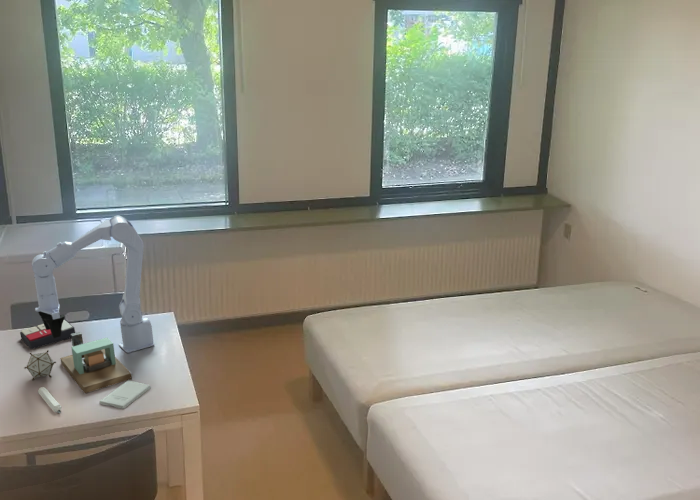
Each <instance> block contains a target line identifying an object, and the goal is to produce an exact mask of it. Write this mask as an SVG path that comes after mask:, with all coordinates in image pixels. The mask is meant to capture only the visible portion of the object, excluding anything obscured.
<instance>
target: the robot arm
mask: <svg viewBox="0 0 700 500" xmlns="http://www.w3.org/2000/svg"><path fill="white" fill-rule="evenodd" d="M133 225H134V224H132V222H131V221H129V220H128V219H127V218H126V217H124V216H121V215H114V216H112V217H111V218H109V219H106V220H104V221H102V222H101V223H100V224H98V225H97V226H94V227H93V228H92V229H90V230H88V231H87V232H85V233H84V234H82V235H81V236H79V237H77V238H76V239H74V240H73V241H62V242H61V241H59V242H57V243H56V246H54V247H52V248H51V249H49V250H47V251H46V250H44V251H42V254H41V253H39V254H37V255H36V256H34V257H33V259H32V260H31V270H32V271H33V277H34V285H35V290H36V297H37V303H38V307H35V308H34V311H35V312H37V314H38V315H39V317H40V318H41V321H42V324H44V326H45V328H46V330H49V329H50V330H51V333H52V336H53V338H56V337H60V336H61V329H62V323H63V320H64V319H65V317H66V316H65V315H64V314H61V315H60V308H61V305H60V302H59V297H58V290H57V285H56V278H55V276H54V273H53V272H54V270H55V269H57V268H59V267H61V266H62V265H64V264H66V263H67V262H69V261H71V260H73V259H74V258H76V257H77V253H78V252H79V251H81V250H84V249H85V248H86V247H89V246H90V245H93V244H94V243H96V242H98V241H101V240H104V241H112V239H114V241H116V242H119V243H121V244H123V245H124V246H125V247H126V248H127V250H126V251H127V253H126V265H125V267H126V268H125V276H124V278H125V279H124V291H123V294H122V299H121V301H120V303H119V305H118V312H119V313H120V315H121V319H120V321H119V324H120V332H121V341H122V342H120V343H118V346H119V347H120V348H121V349H122V350H124V352H125V353H127V354H129V353H133V352H136V351H139V350H142V349H147V348H149V347H154V346H155V343H154V335H153V326H152V323H151V321H150V319H149V318H148V317H143V312H142V311H141V299H140V296H141V295H140V293H141V284H142V283H141V282H142V270H143V257H144V249H145V248H144V247H145V244H144V241H143V240H142V238H141V236H140V235H139V233H138V232H137V230H136V228H135V227H134V226H133Z"/></svg>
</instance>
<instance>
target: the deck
mask: <svg viewBox="0 0 700 500" xmlns="http://www.w3.org/2000/svg"><path fill="white" fill-rule="evenodd" d="M101 351H102V352H103V354H104V355H105V349H103V350H101ZM81 356H82V358H84V355H81ZM105 356H106V355H105ZM115 361H116V364H114V365H111V366H108V367H104V368H101V369H97V370H94V371H91V372H86V371H85V370H84V369H83V370H84V373H83V374H79V373H78V371H77V370H76V369H75V368H74V361H73V355H72V354H70V355H66V356H63V357H60V364H61V365H62V367H63V368H64V369H65V370H66V372H67V373H68V374H69V376H70V377H71V378H72V379H73V381H74V382H75V383H76V385H77V386H78V387H79V388H80V390H81V391H82V392H83V393H84V394H88V393H91V392H94V391H97V390H100V389H104V388H107V387H110V386H113V385H117V384H120V383H125V382H127V381H131V380H132V379H133V377H132V372H131V371H130V370H129V369H128V368H127V367H126V366H125V365H124V364H123V363H122V361H120V360H119V359H118V358H117V357H116V356H115Z"/></svg>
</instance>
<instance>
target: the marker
mask: <svg viewBox="0 0 700 500" xmlns="http://www.w3.org/2000/svg"><path fill="white" fill-rule="evenodd" d="M37 393H38V395H40V397H41V398H42V400H43V401H45V403H46V404H47V405H48V407H49V408H50V409H51V410H52V411H53V412H54V413H58V414H62V408H63V407H62V406H61V404H60V403H59V402H58V401H57V400H56V399H55V397H54V396H53V395H52V394H51V393H50V392H49V390H48V389H46V387H45V386H42V387H40V388H39V389H38V391H37Z"/></svg>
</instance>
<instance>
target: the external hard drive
mask: <svg viewBox="0 0 700 500" xmlns="http://www.w3.org/2000/svg"><path fill="white" fill-rule="evenodd" d="M150 389H151V385H150V384H147V383H143V382H142V383H141V382H137V381H132V380H127V381H124V382H123V383H122V384H121V385H119V386H118V387H117V388H116V389H114V390H113V391H112V392H110V393H109V394H107V395H106V396H105V397H104V398H101V400H100V401H99V404H100V405H104V406H109V407H113V408H118V409H125V408H127V407H128V406H130V404H132V403H134V401H136V400H137V399H138V398H139V397H141V396H142V395H143V394H144V393H146V392H148V391H149V390H150Z"/></svg>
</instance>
